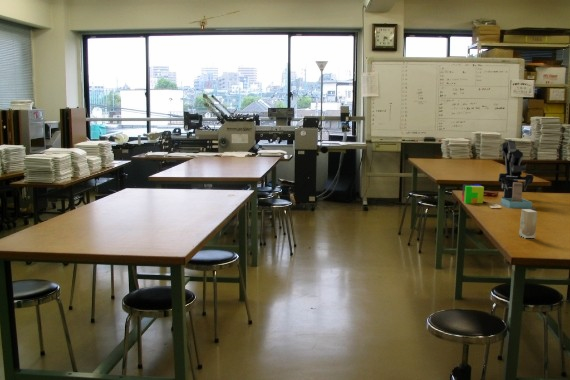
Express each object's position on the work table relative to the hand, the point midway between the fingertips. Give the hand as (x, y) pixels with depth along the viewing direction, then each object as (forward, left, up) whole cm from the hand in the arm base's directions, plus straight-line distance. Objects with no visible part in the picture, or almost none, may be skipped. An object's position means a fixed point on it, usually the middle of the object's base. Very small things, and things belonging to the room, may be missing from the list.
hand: (516, 189), depth 326 cm
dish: (+3, -1, -9) cm, 9 cm away
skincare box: (+82, -28, -9) cm, 87 cm away
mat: (+3, -1, -9) cm, 10 cm away
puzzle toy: (-10, -22, -10) cm, 26 cm away
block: (+3, -1, -8) cm, 9 cm away
